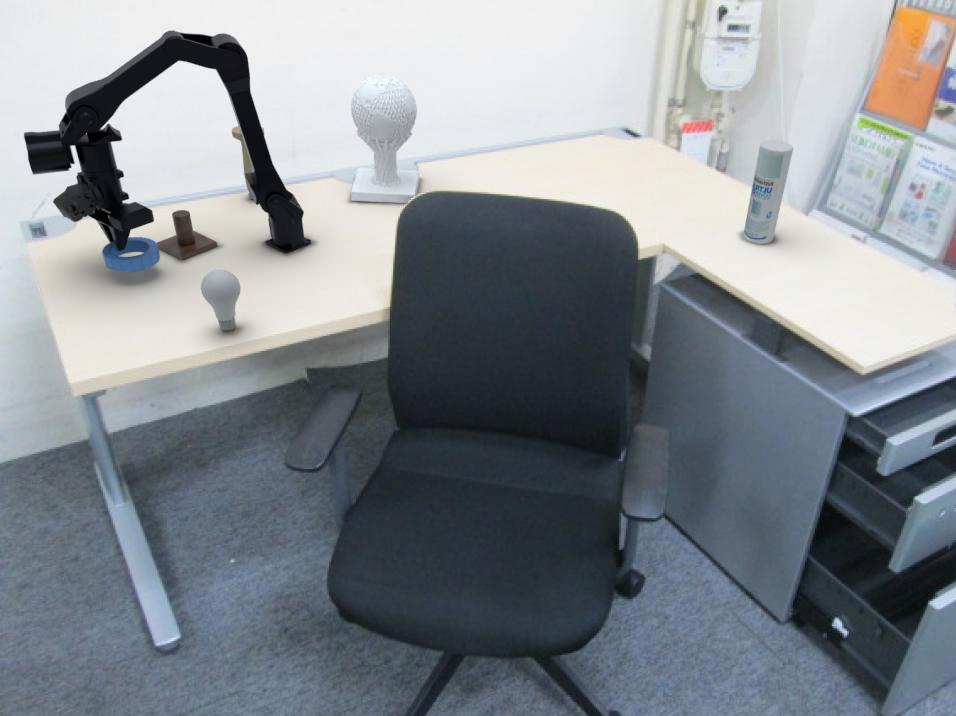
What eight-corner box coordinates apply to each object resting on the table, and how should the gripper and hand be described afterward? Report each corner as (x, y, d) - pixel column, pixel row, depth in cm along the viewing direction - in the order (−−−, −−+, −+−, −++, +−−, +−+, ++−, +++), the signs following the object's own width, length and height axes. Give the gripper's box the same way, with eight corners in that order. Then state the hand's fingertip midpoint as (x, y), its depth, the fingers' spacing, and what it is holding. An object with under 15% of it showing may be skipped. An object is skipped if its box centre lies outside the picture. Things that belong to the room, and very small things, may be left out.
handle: (270, 202, 196) (260, 134, 187) (239, 201, 195) (229, 133, 187) (274, 194, 200) (266, 126, 191) (245, 193, 199) (234, 125, 191)
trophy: (420, 179, 210) (418, 68, 196) (416, 203, 199) (413, 88, 184) (358, 176, 209) (351, 65, 195) (351, 201, 198) (343, 85, 183)
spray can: (779, 238, 193) (799, 146, 182) (763, 247, 189) (782, 153, 178) (753, 228, 197) (771, 137, 185) (736, 236, 193) (754, 144, 181)
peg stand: (217, 246, 178) (211, 213, 174) (182, 260, 173) (175, 226, 169) (192, 234, 182) (186, 201, 178) (157, 247, 177) (149, 213, 173)
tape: (170, 259, 167) (168, 247, 165) (125, 277, 161) (122, 265, 159) (139, 244, 171) (136, 232, 169) (94, 261, 165) (91, 249, 163)
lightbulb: (213, 320, 156) (202, 262, 149) (250, 320, 156) (240, 262, 150) (205, 339, 151) (194, 280, 144) (243, 339, 151) (233, 280, 145)
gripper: (24, 165, 157) (49, 247, 166) (85, 195, 148) (107, 280, 157) (85, 148, 164) (105, 228, 173) (146, 176, 155) (164, 258, 165)
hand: (118, 248), depth 167 cm, fingers closed on tape, 1 cm apart
